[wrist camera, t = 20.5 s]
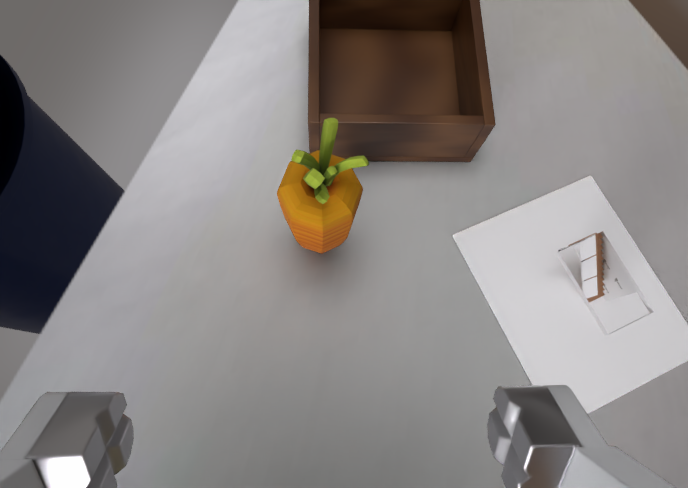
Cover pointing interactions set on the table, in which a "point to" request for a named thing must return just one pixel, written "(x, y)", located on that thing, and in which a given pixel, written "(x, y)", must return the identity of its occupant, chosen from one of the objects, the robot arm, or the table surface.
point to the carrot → (321, 193)
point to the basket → (399, 79)
